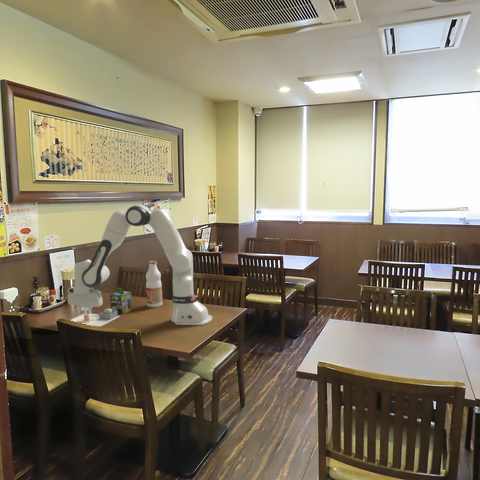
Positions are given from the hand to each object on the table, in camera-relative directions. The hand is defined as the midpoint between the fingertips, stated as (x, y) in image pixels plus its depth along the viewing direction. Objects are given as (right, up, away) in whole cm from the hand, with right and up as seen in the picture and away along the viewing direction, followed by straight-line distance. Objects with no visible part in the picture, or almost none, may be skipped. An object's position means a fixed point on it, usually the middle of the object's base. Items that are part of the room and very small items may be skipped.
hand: (86, 313), depth 213 cm
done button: (+10, -2, +5) cm, 12 cm away
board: (+2, -4, +3) cm, 6 cm away
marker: (0, -4, 0) cm, 4 cm away
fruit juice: (+31, -1, +29) cm, 43 cm away
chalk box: (+14, -3, +18) cm, 23 cm away
